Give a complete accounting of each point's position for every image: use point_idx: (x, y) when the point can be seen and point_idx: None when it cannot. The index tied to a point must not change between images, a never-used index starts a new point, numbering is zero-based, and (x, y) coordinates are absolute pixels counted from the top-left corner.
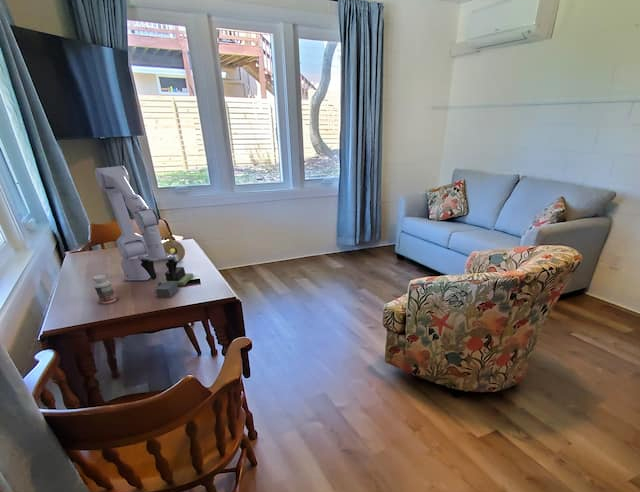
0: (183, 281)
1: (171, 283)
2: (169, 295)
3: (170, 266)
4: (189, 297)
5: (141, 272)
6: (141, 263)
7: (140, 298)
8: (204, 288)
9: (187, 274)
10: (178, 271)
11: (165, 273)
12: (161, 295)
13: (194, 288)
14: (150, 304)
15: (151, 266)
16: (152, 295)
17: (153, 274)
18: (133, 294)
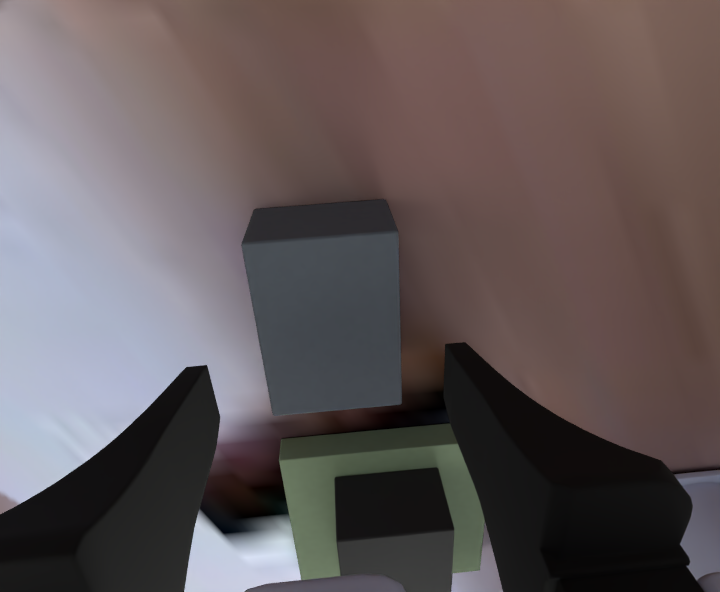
0: (287, 474)
1: (299, 381)
2: (258, 215)
3: (30, 513)
4: (51, 222)
5: (691, 540)
6: (678, 521)
7: (556, 159)
8: (60, 409)
9: (332, 571)
10: (341, 570)
11: (446, 528)
12: (345, 208)
13: (152, 401)
14: (376, 4)
15: (502, 517)
16: (463, 236)
17: (462, 408)
18: (656, 242)
